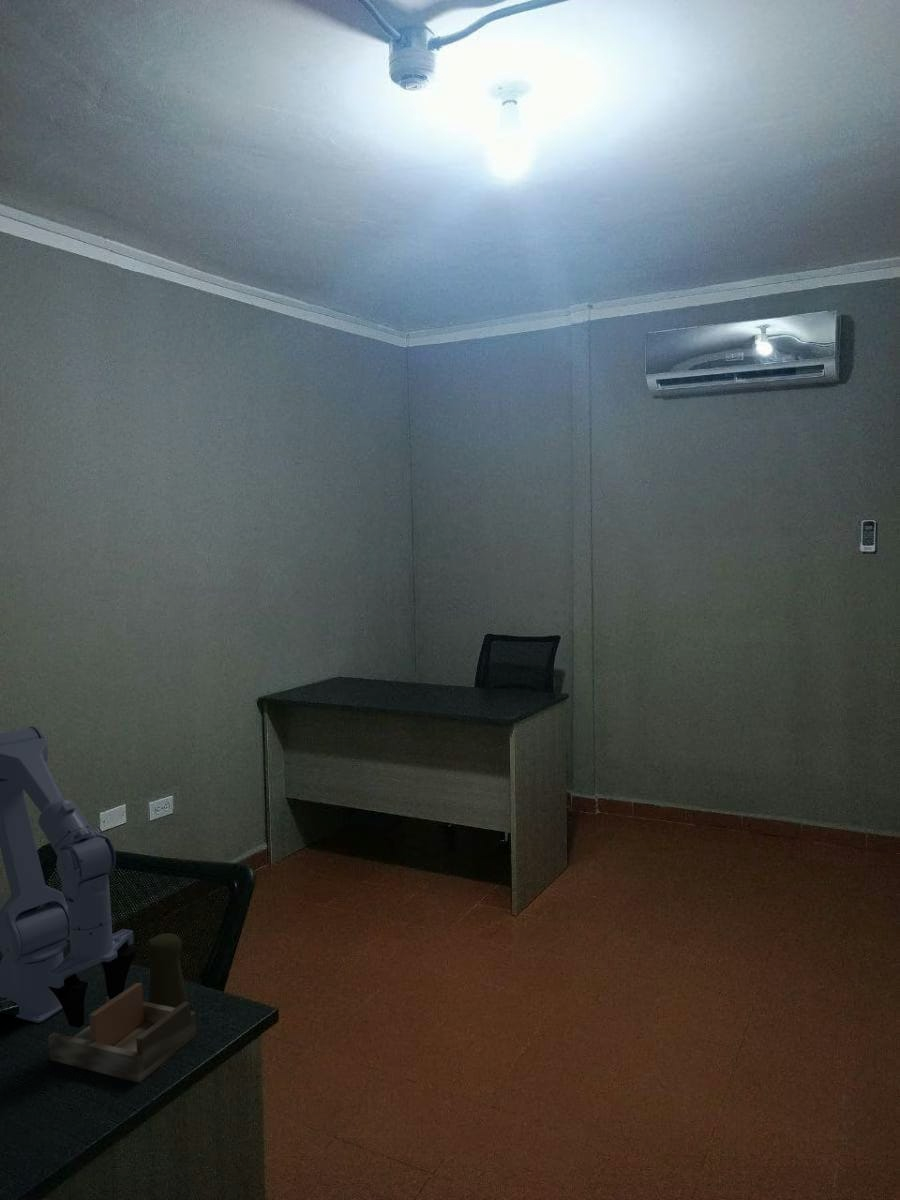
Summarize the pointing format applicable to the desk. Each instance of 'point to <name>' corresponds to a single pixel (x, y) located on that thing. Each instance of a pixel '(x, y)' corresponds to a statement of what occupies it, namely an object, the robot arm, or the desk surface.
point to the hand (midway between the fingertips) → (96, 1011)
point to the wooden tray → (130, 1044)
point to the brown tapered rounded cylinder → (165, 971)
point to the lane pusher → (118, 1016)
